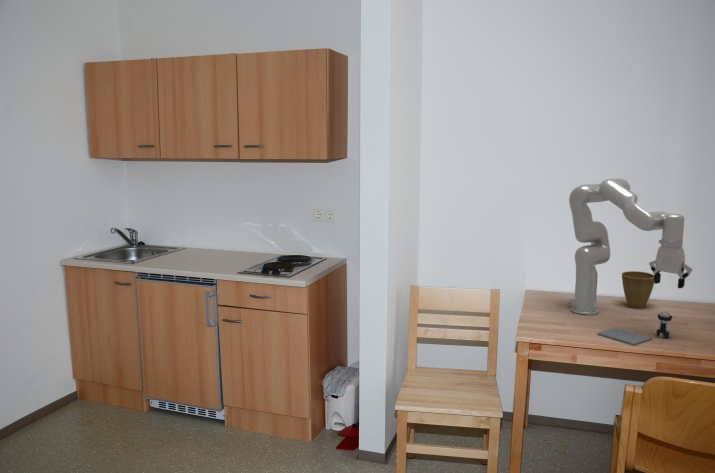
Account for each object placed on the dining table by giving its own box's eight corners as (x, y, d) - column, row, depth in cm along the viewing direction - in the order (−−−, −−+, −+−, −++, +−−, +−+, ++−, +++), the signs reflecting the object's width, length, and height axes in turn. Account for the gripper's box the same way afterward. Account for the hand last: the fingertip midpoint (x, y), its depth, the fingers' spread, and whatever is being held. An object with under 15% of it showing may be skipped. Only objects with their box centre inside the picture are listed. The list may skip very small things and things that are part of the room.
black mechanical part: (650, 335, 242) (652, 311, 240) (658, 333, 244) (660, 310, 243) (665, 339, 236) (667, 316, 234) (673, 337, 238) (675, 314, 237)
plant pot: (614, 302, 291) (616, 271, 288) (644, 302, 291) (646, 271, 288) (627, 310, 276) (630, 278, 274) (659, 310, 276) (661, 278, 274)
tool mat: (597, 334, 242) (597, 332, 242) (616, 329, 249) (616, 327, 249) (633, 345, 229) (633, 343, 229) (652, 339, 236) (652, 337, 236)
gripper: (646, 242, 241) (643, 282, 243) (688, 248, 226) (685, 291, 229) (656, 240, 245) (653, 280, 247) (698, 246, 230) (695, 288, 233)
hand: (668, 285), depth 238 cm, fingers open, 9 cm apart
